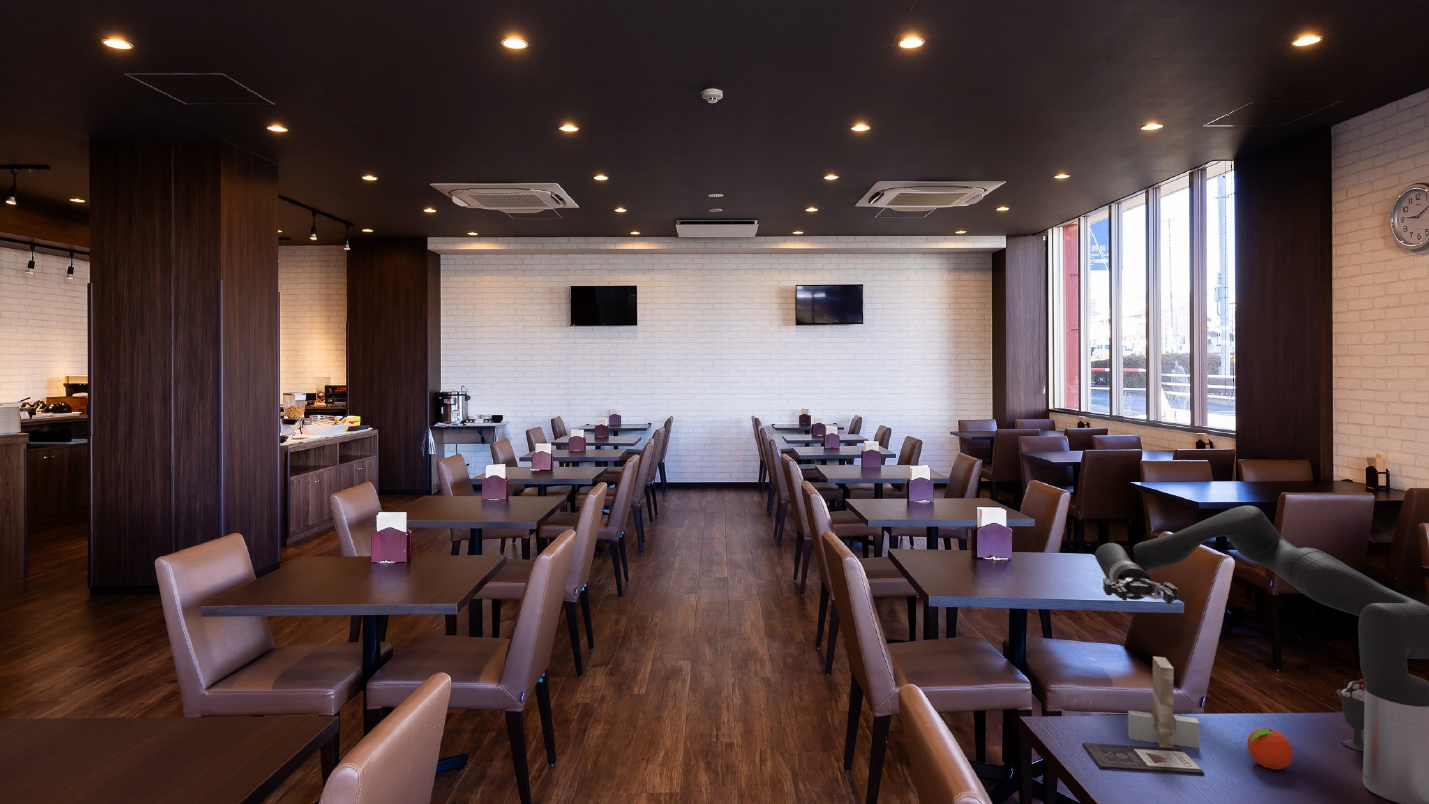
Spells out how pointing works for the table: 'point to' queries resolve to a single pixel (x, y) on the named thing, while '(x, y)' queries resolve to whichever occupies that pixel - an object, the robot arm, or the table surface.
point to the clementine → (1270, 748)
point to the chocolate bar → (1142, 759)
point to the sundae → (1354, 710)
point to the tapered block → (1163, 701)
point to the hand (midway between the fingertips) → (1147, 597)
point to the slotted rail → (1146, 731)
